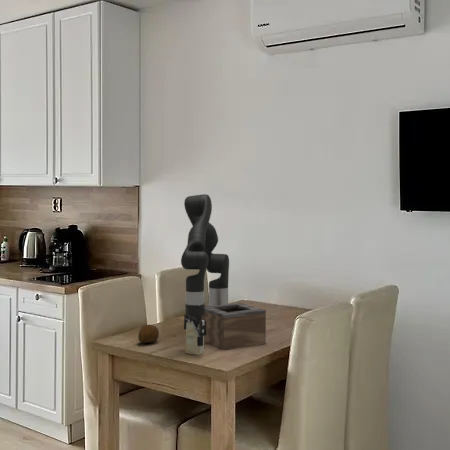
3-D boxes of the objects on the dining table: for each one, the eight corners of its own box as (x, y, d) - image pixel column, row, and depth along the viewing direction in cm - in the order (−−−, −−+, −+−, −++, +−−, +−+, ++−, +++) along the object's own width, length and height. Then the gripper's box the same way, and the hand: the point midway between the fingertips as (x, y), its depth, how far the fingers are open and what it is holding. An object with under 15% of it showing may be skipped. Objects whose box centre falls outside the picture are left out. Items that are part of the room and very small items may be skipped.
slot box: (200, 339, 266) (200, 306, 265) (239, 334, 276) (240, 302, 275) (224, 349, 249) (224, 315, 248) (265, 343, 259) (265, 310, 258)
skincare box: (185, 353, 244) (185, 322, 243) (190, 350, 248) (190, 320, 247) (199, 355, 241) (199, 323, 240) (204, 352, 245) (204, 321, 245)
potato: (162, 339, 266) (162, 321, 265) (153, 347, 254) (153, 328, 253) (144, 338, 267) (144, 321, 267) (134, 346, 255) (134, 327, 255)
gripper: (178, 300, 248) (178, 341, 248) (195, 306, 235) (195, 348, 236) (194, 298, 251) (194, 338, 252) (212, 304, 239) (212, 346, 240)
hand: (195, 343), depth 244 cm, fingers open, 8 cm apart
